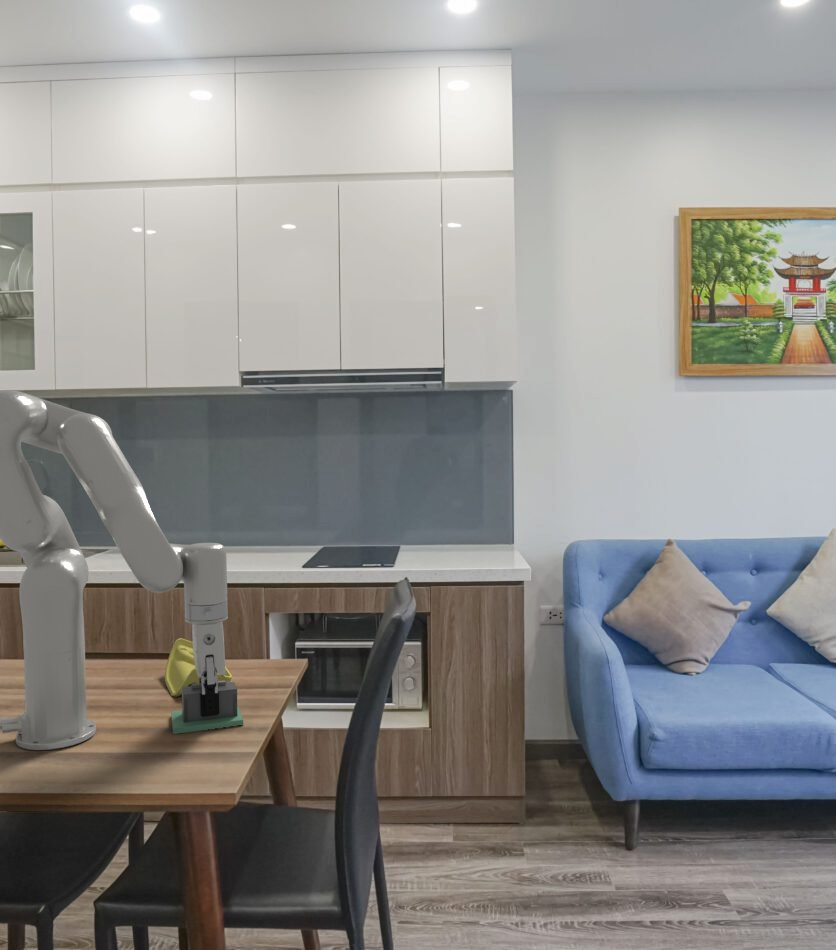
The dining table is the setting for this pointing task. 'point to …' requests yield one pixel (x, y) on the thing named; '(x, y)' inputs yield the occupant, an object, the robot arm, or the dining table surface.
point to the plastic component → (184, 668)
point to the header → (203, 722)
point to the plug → (193, 706)
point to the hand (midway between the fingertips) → (208, 709)
